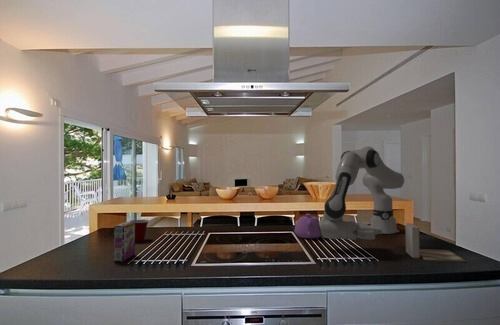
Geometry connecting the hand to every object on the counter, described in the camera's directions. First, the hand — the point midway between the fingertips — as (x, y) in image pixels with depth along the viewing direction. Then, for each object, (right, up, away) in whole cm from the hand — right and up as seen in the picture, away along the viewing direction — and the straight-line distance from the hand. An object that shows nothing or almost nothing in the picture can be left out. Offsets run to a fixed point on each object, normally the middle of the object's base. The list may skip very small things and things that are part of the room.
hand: (381, 231), depth 140 cm
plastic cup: (-130, -13, +29) cm, 134 cm away
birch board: (+24, -10, -6) cm, 26 cm away
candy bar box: (-124, -12, -4) cm, 125 cm away
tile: (+13, -10, -3) cm, 17 cm away
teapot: (-26, -12, +34) cm, 45 cm away
